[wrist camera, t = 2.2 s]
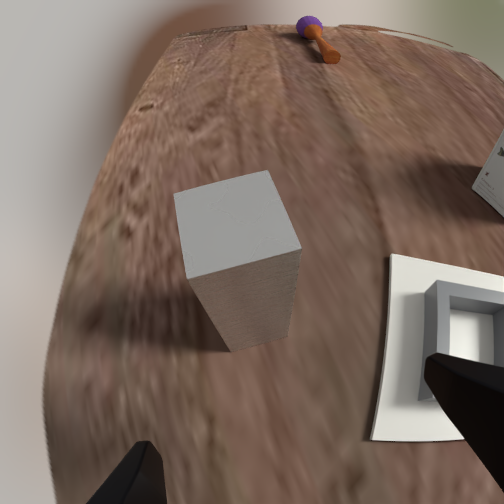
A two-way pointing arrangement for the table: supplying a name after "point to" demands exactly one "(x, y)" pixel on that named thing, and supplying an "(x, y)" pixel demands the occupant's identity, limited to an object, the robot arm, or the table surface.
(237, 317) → the square peg
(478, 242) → the table surface
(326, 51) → the kendama
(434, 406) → the dock board
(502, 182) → the supplement box
